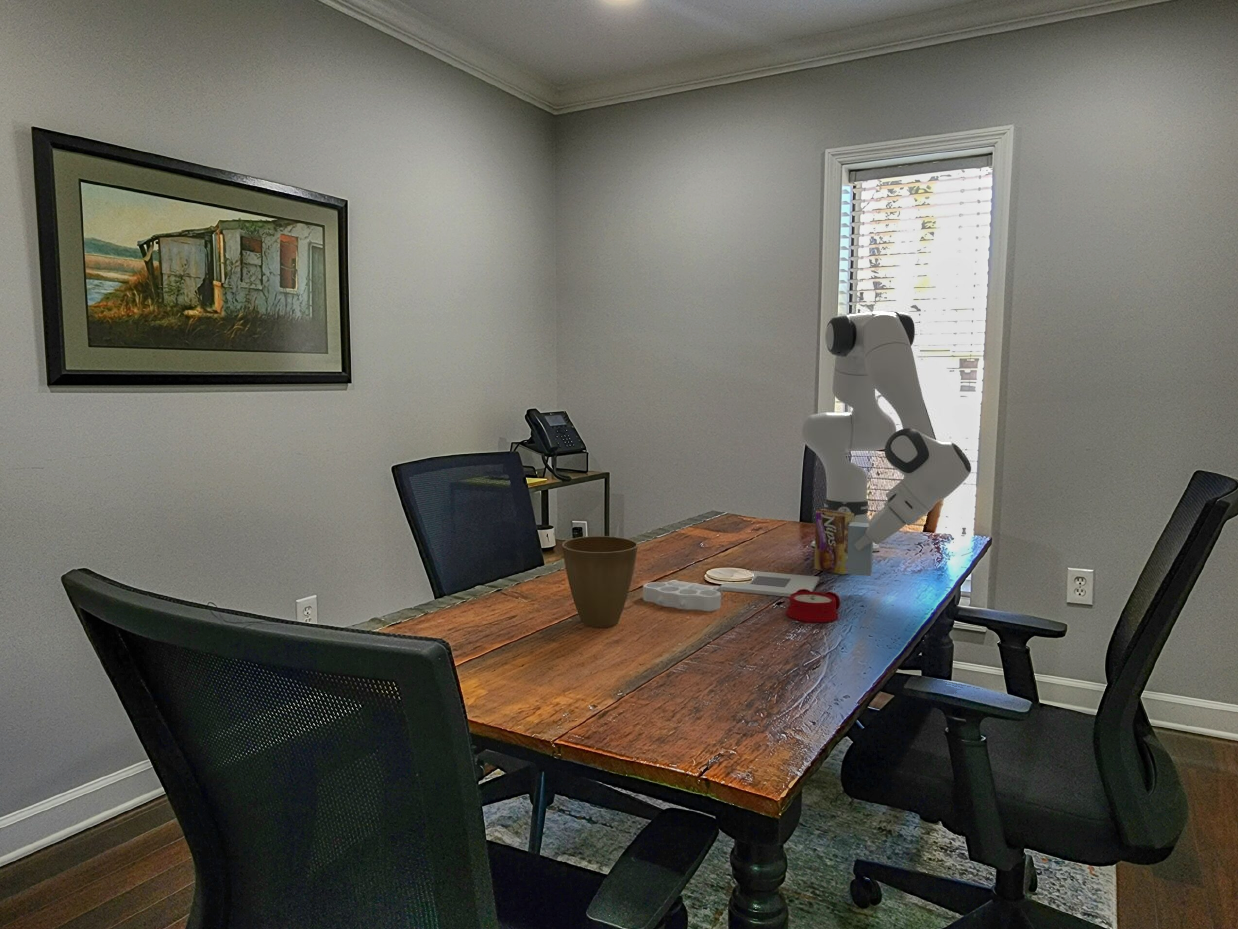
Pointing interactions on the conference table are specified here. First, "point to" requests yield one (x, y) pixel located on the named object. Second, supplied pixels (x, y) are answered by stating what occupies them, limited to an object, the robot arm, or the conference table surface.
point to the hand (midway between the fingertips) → (857, 544)
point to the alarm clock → (813, 606)
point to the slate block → (859, 551)
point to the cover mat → (773, 584)
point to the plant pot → (599, 576)
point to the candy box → (832, 540)
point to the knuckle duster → (683, 595)
